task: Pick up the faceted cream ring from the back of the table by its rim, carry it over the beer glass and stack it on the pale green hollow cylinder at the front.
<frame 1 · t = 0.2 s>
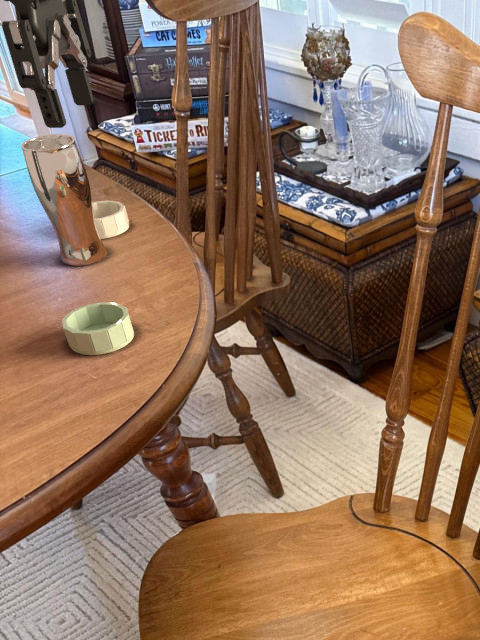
hand: (71, 115, 90), 20 cm above the table, tool pointing down, fingers open, 8 cm apart
pale green hollow cylinder: (102, 338, 92), on the table
faceted cream ring: (103, 229, 116), on the table
beer glass: (85, 258, 109), on the table
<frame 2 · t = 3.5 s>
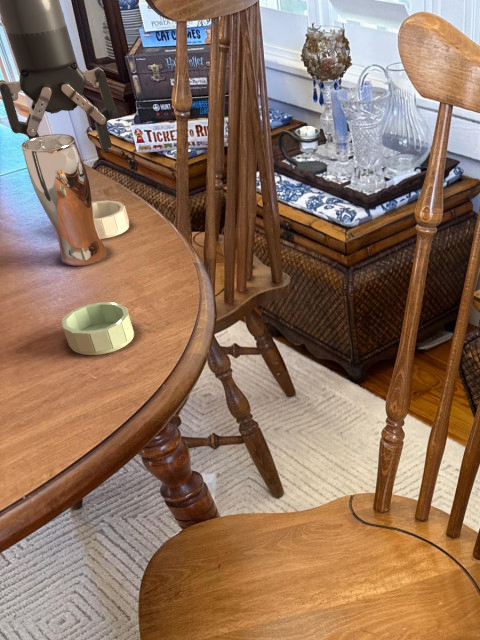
hand: (75, 156, 112), 9 cm above the table, tool pointing down, fingers open, 8 cm apart
nothing on the table moved.
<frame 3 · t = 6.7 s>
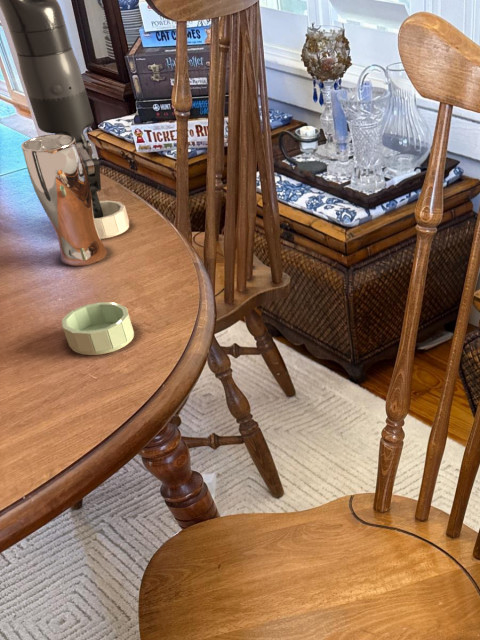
hand: (94, 216, 118), 1 cm above the table, tool pointing down, fingers closed on faceted cream ring
faceted cream ring: (103, 228, 116), on the table, touching gripper
everything else where it was.
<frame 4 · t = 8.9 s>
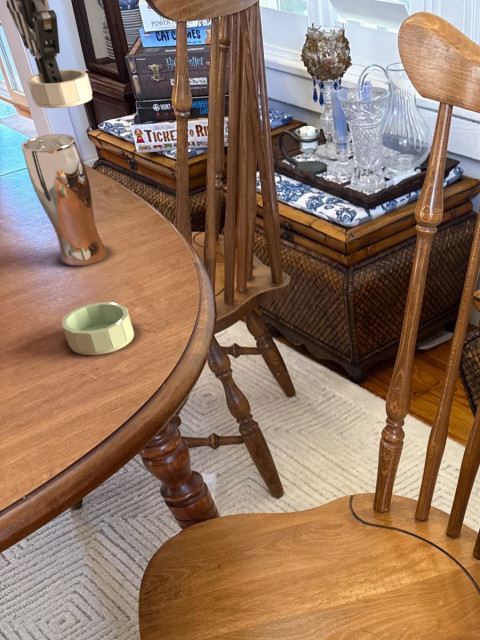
hand: (53, 88, 106), 18 cm above the table, tool pointing down, fingers closed on faceted cream ring
faceted cream ring: (64, 100, 105), point 17 cm above the table, touching gripper
everything else where it was.
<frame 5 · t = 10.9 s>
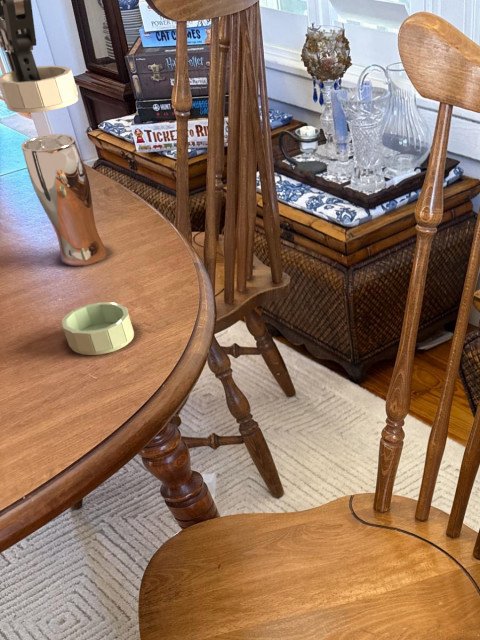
hand: (30, 89, 86), 23 cm above the table, tool pointing down, fingers closed on faceted cream ring
faceted cream ring: (43, 103, 85), point 22 cm above the table, touching gripper
everything else where it was.
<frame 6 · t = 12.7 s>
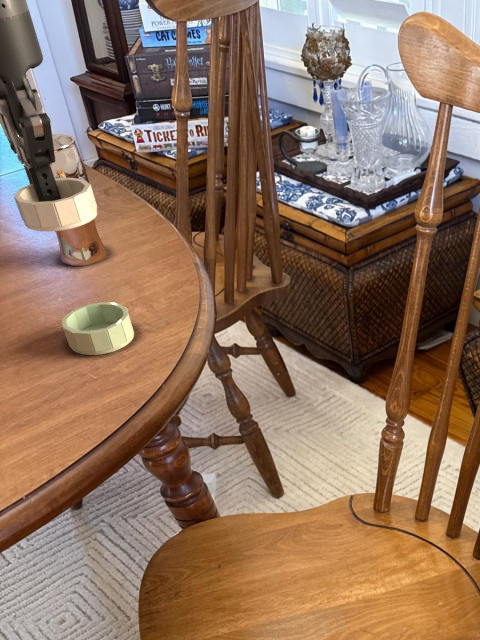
hand: (48, 201, 84), 15 cm above the table, tool pointing down, fingers closed on faceted cream ring
faceted cream ring: (61, 217, 82), point 14 cm above the table, touching gripper
everything else where it was.
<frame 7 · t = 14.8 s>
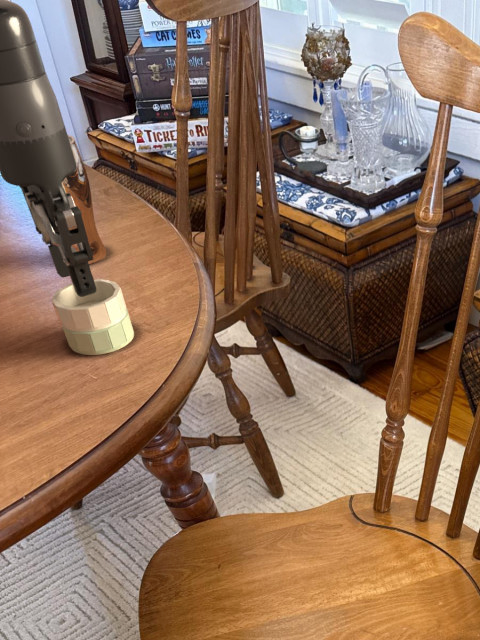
hand: (77, 283, 90), 6 cm above the table, tool pointing down, fingers open, 6 cm apart
pale green hollow cylinder: (102, 338, 92), on the table, touching faceted cream ring
faceted cream ring: (93, 316, 90), point 3 cm above the table, touching pale green hollow cylinder
everything else where it was.
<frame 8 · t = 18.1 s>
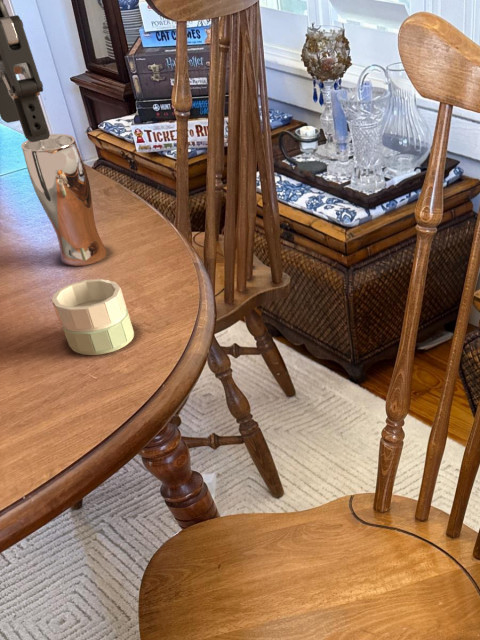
hand: (26, 129, 79), 22 cm above the table, tool pointing down, fingers open, 8 cm apart
nothing on the table moved.
at the end: faceted cream ring 0.3 cm off-centre on the pale green hollow cylinder, point 2.8 cm above the pale green hollow cylinder's base; the gripper is holding nothing; pale green hollow cylinder moved 0.0 cm from its start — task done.
